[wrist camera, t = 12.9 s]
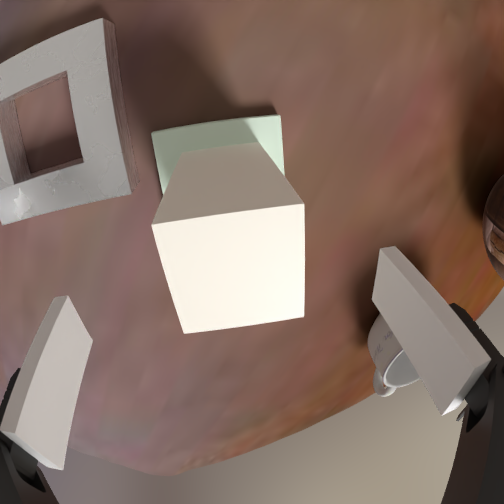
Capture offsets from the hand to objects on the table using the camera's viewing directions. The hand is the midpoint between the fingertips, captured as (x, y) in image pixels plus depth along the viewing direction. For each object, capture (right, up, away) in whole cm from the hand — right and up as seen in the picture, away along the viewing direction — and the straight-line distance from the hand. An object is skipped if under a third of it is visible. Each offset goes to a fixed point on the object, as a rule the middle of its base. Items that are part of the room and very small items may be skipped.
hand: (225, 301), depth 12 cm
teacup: (+19, -8, +26) cm, 33 cm away
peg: (-1, +8, +12) cm, 14 cm away
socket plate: (-16, +13, +8) cm, 22 cm away
